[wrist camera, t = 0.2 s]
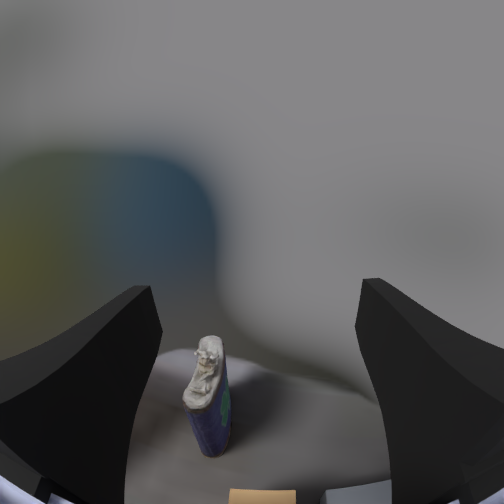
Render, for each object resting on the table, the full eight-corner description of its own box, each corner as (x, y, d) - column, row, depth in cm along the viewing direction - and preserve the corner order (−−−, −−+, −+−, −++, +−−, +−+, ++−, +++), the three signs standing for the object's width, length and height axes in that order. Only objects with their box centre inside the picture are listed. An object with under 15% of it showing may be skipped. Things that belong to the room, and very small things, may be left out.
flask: (210, 390, 31) (198, 318, 26) (235, 391, 30) (229, 319, 26) (197, 457, 22) (173, 395, 18) (227, 460, 22) (215, 399, 18)
